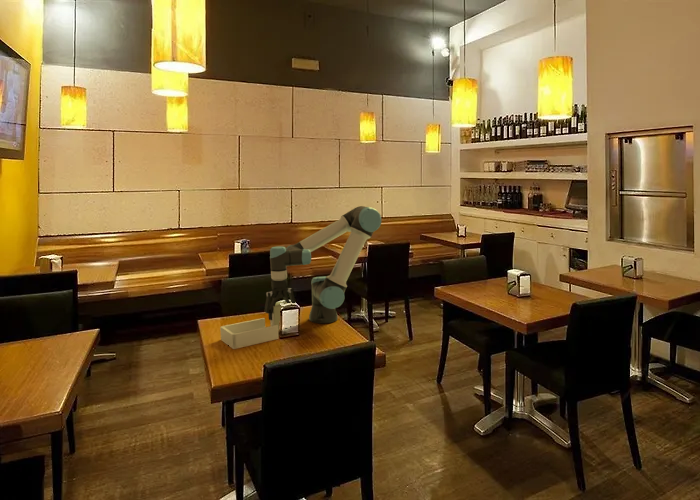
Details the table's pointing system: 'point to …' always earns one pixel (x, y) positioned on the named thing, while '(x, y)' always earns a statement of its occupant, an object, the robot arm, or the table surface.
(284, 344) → the table surface
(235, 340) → the open box
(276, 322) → the can
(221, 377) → the table surface
